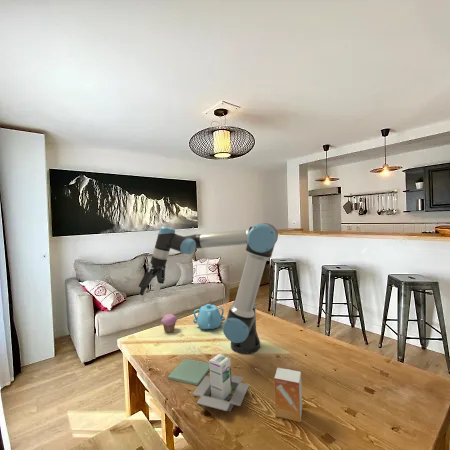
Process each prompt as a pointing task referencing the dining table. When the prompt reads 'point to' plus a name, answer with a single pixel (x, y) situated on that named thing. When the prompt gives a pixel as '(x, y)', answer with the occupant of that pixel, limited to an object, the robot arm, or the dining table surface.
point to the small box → (288, 394)
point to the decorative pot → (208, 317)
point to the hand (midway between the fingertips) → (148, 297)
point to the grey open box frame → (236, 399)
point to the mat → (190, 371)
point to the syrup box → (220, 377)
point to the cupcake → (169, 322)
